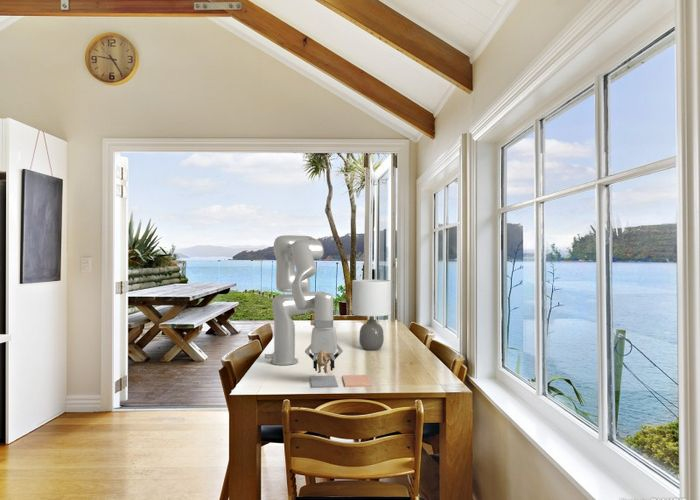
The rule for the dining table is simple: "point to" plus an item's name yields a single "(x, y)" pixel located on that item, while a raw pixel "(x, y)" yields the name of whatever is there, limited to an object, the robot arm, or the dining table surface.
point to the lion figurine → (323, 361)
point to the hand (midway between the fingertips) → (323, 369)
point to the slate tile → (323, 381)
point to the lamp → (371, 309)
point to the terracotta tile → (356, 381)
